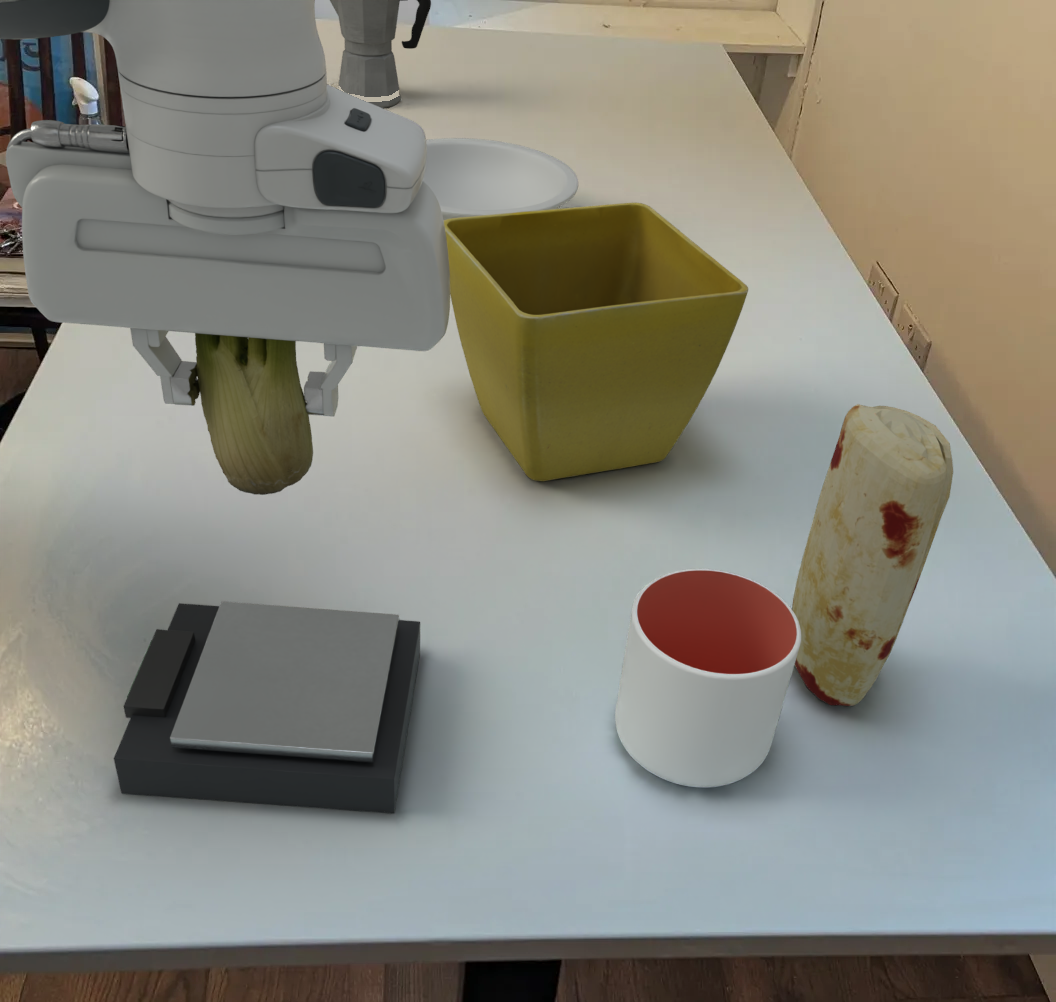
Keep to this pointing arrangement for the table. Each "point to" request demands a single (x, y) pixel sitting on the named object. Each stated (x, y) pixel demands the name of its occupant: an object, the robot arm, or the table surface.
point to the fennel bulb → (254, 410)
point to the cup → (705, 676)
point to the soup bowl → (495, 177)
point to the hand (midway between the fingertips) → (253, 405)
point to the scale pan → (290, 683)
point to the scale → (249, 776)
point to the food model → (868, 547)
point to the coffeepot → (373, 46)
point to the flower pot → (588, 331)
